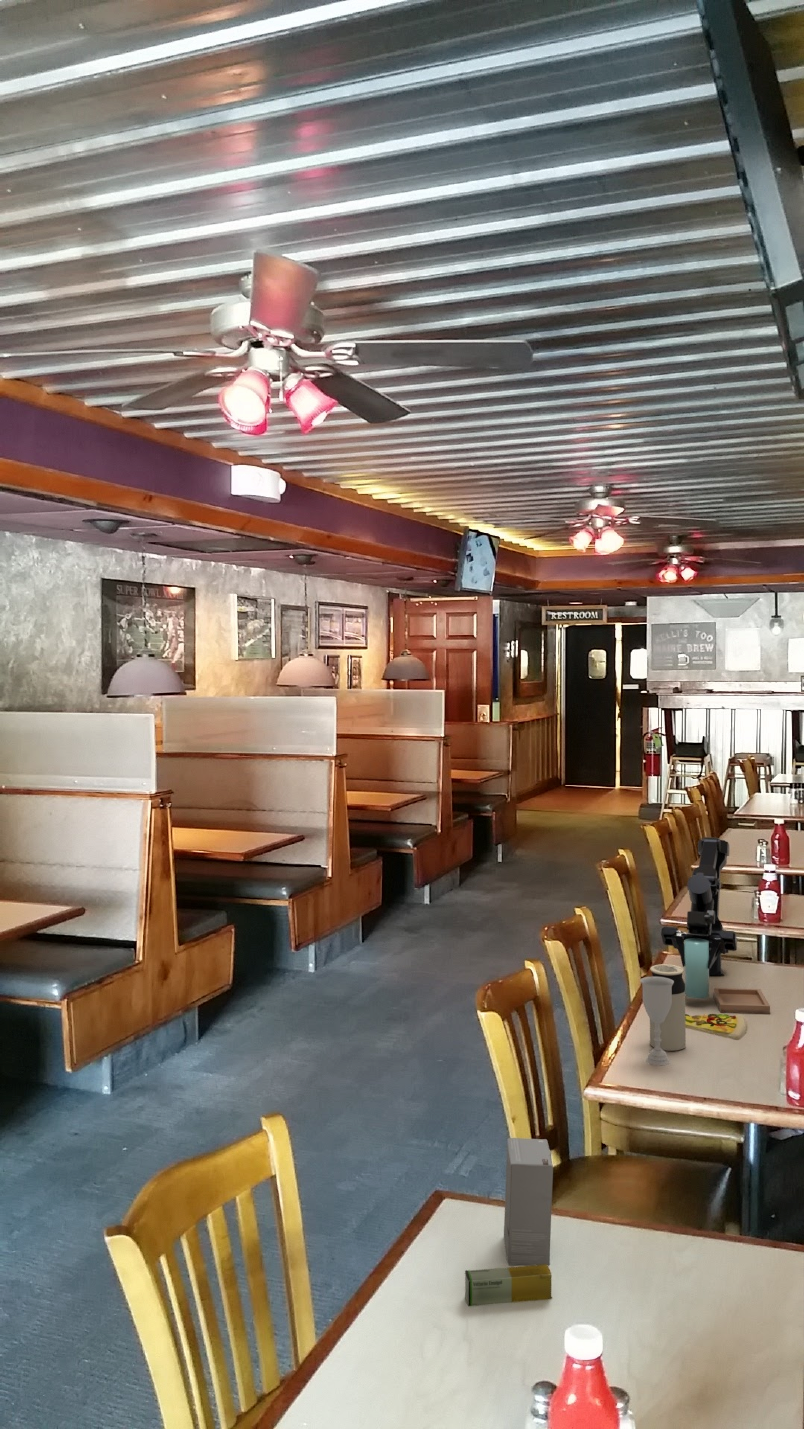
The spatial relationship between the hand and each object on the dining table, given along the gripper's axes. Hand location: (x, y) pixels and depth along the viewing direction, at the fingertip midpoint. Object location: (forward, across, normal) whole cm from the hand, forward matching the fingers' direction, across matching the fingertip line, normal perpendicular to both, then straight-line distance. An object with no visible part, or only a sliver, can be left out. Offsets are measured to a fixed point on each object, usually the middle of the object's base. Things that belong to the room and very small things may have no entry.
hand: (696, 967), depth 270 cm
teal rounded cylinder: (+4, 0, +6) cm, 8 cm away
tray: (+4, +10, +11) cm, 15 cm away
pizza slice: (+18, +3, -2) cm, 18 cm away
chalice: (+36, -3, -22) cm, 43 cm away
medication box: (+104, -7, -90) cm, 138 cm away
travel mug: (+29, -2, -15) cm, 33 cm away
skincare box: (+95, -8, -82) cm, 126 cm away
